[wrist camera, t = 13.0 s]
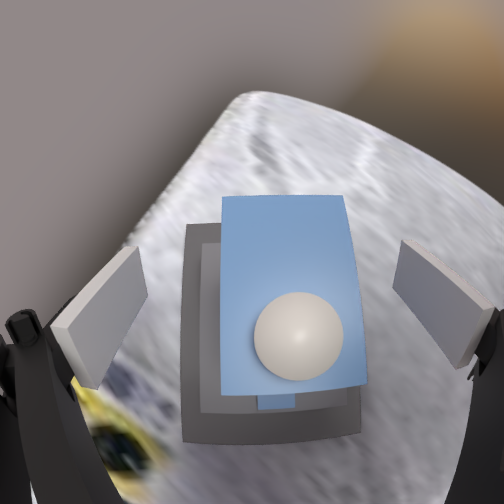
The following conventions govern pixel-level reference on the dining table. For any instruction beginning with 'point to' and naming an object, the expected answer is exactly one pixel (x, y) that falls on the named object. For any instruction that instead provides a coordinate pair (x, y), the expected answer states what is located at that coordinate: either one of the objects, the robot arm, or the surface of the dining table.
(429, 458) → the dining table surface
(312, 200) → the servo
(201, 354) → the chassis
